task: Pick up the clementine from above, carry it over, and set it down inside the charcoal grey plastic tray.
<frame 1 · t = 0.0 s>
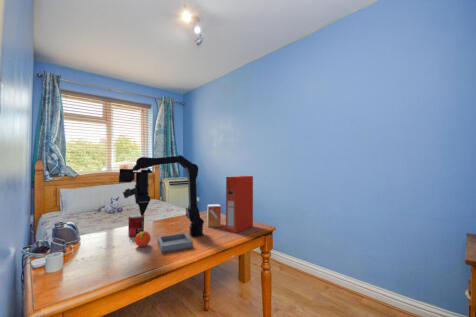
hand: (141, 213, 106), 15 cm above the table, tool pointing down, fingers open, 9 cm apart
tray: (174, 245, 104), on the table
file binder: (239, 228, 131), on the table
canned food: (136, 235, 117), on the table
small box: (213, 225, 137), on the table
clementine: (142, 246, 101), on the table
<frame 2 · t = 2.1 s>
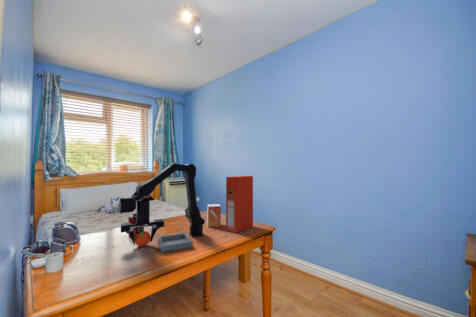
hand: (142, 243, 102), 2 cm above the table, tool pointing down, fingers closed on clementine, 7 cm apart
clementine: (142, 246, 101), on the table, touching gripper
everything else where it was.
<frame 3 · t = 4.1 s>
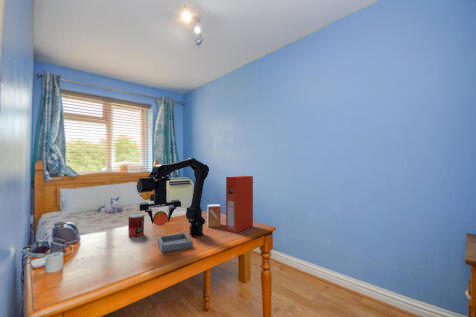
hand: (160, 222, 103), 11 cm above the table, tool pointing down, fingers closed on clementine, 7 cm apart
clementine: (160, 226, 103), point 9 cm above the table, touching gripper
everything else where it was.
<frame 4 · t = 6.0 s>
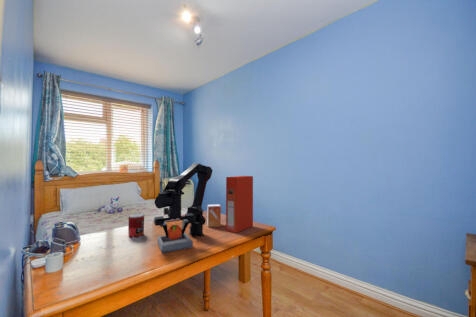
hand: (174, 236, 104), 4 cm above the table, tool pointing down, fingers closed on clementine, 7 cm apart
clementine: (174, 240, 104), point 2 cm above the table, touching gripper
everything else where it was.
when the fingers open (4 cm above the table, at t = 6.5 s): clementine drops 2 cm, resting on tray.
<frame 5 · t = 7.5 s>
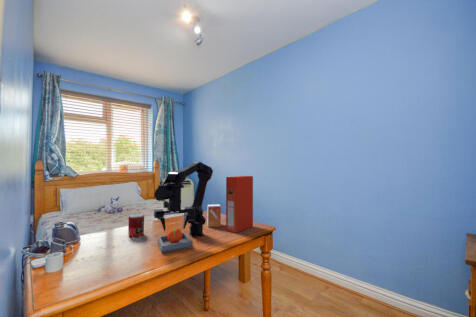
hand: (174, 229, 104), 7 cm above the table, tool pointing down, fingers open, 9 cm apart
clementine: (174, 243, 104), point 1 cm above the table, touching tray
everything else where it was.
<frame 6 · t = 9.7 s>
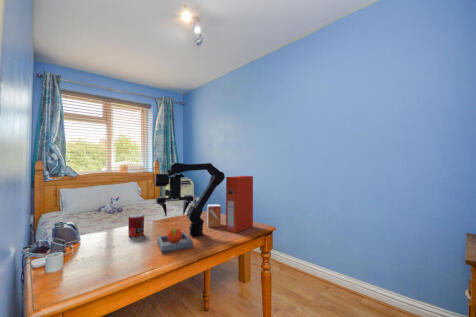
hand: (174, 215, 114), 12 cm above the table, tool pointing down, fingers open, 9 cm apart
nothing on the table moved.
at the end: clementine inside the target area on the tray (0.1 cm from its centre), point 0.6 cm above the tray's base; the gripper is holding nothing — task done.
